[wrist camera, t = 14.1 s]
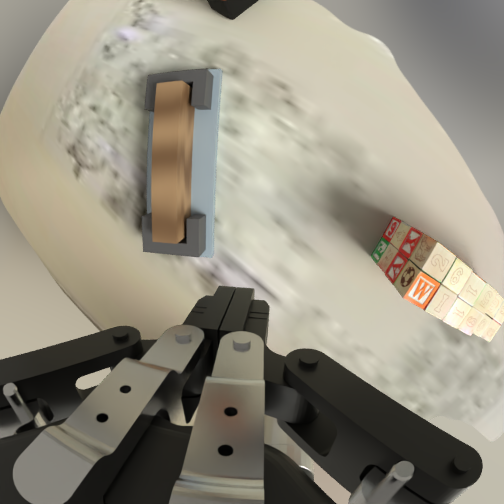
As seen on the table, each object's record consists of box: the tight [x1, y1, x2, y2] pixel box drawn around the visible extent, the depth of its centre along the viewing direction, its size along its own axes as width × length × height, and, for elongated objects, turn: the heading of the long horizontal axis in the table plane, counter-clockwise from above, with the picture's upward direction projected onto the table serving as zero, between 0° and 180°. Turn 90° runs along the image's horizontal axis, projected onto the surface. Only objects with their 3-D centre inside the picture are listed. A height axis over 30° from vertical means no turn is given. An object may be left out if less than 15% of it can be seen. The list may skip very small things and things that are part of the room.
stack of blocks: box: [371, 217, 504, 342], centre depth 28 cm, size 21×6×12 cm, turn 64°
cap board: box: [142, 69, 222, 258], centre depth 31 cm, size 24×9×4 cm, turn 177°
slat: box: [151, 81, 195, 244], centre depth 30 cm, size 18×3×5 cm, turn 177°
